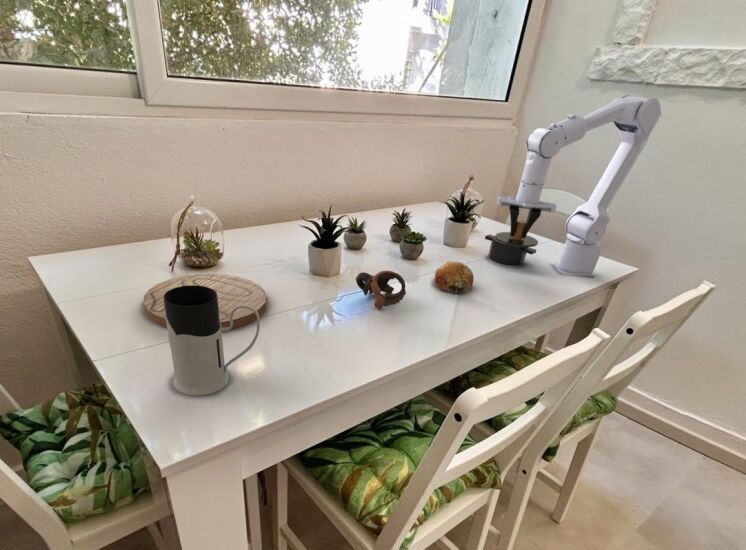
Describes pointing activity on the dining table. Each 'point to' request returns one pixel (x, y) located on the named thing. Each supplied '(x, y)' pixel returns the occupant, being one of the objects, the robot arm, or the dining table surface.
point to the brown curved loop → (381, 287)
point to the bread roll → (454, 277)
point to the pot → (507, 252)
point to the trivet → (228, 293)
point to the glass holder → (198, 339)
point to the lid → (517, 237)
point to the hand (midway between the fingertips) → (517, 236)
